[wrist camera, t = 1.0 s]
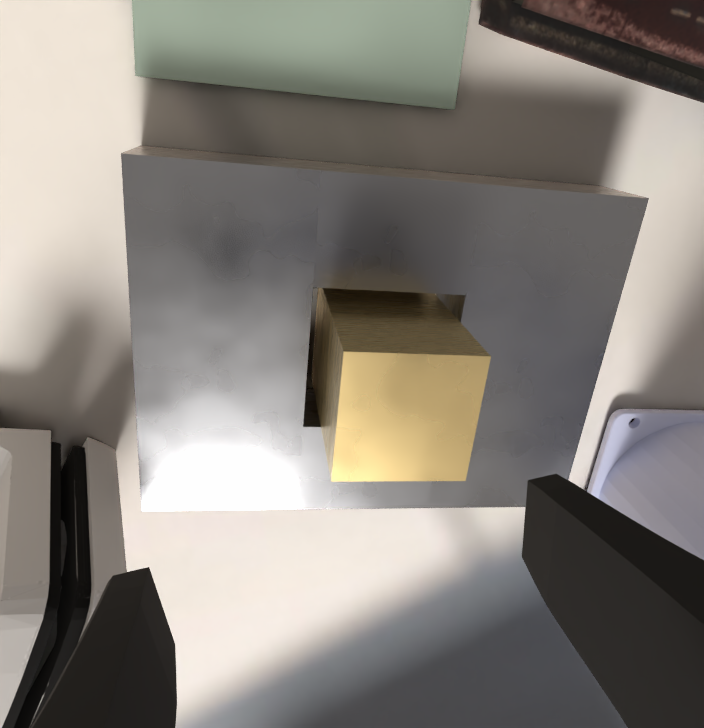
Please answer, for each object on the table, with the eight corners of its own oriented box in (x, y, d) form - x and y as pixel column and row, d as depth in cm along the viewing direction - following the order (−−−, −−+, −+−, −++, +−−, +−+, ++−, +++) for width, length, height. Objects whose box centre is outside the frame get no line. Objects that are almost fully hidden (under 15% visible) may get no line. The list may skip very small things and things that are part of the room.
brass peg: (424, 282, 22) (491, 356, 16) (410, 379, 24) (465, 481, 17) (318, 277, 21) (343, 351, 15) (311, 376, 23) (331, 481, 17)
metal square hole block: (599, 186, 22) (648, 198, 19) (529, 464, 26) (560, 506, 24) (141, 145, 19) (120, 153, 16) (155, 464, 24) (141, 511, 21)
